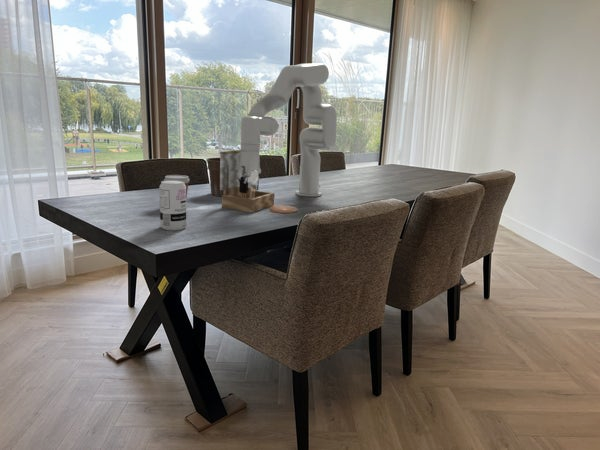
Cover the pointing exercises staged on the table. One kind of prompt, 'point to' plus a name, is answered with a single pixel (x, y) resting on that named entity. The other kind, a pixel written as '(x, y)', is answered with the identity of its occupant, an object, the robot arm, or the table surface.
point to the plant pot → (215, 176)
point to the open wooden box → (230, 180)
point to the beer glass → (251, 185)
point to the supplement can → (172, 205)
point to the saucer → (283, 209)
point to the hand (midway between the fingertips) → (249, 191)
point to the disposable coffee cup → (179, 179)
